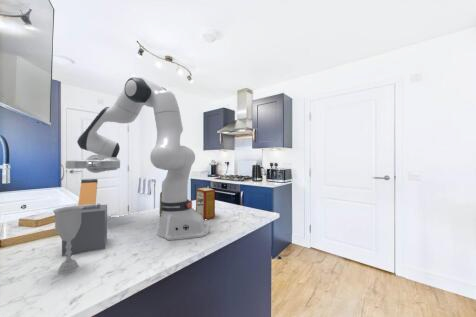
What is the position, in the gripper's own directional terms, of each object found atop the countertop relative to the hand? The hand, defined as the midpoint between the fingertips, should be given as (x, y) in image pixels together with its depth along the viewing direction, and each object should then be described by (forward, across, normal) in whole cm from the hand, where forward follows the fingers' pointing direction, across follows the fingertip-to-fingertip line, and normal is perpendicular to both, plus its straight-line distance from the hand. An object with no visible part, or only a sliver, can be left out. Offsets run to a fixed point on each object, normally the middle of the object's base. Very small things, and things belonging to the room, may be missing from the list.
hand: (92, 164), depth 86 cm
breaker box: (+13, 0, +30) cm, 33 cm away
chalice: (+29, -2, +30) cm, 42 cm away
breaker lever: (+13, 0, +15) cm, 20 cm away
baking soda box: (-2, +52, +30) cm, 60 cm away
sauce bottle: (-12, +32, +30) cm, 46 cm away
